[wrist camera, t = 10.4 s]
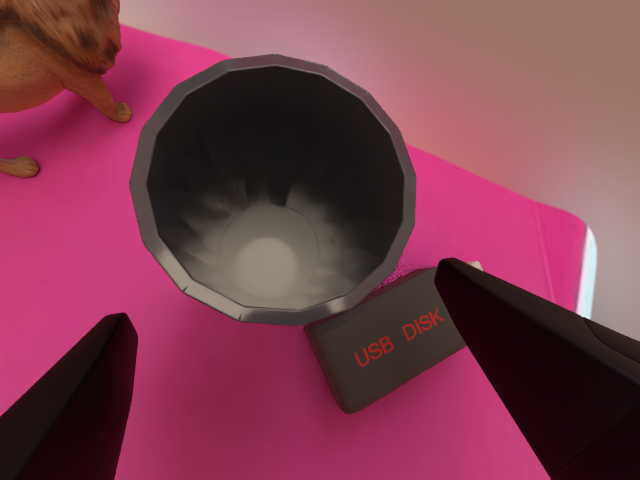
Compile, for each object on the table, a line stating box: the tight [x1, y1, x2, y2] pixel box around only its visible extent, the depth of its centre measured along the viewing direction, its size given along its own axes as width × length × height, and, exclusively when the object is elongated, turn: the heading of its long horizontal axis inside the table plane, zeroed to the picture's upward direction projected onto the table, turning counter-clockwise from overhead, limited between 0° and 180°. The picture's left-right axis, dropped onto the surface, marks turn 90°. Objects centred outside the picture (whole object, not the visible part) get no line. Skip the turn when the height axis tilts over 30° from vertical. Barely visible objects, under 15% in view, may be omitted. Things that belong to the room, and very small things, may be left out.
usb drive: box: [304, 261, 483, 414], centre depth 19 cm, size 5×12×3 cm, turn 115°
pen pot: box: [129, 54, 416, 326], centre depth 13 cm, size 7×7×12 cm
